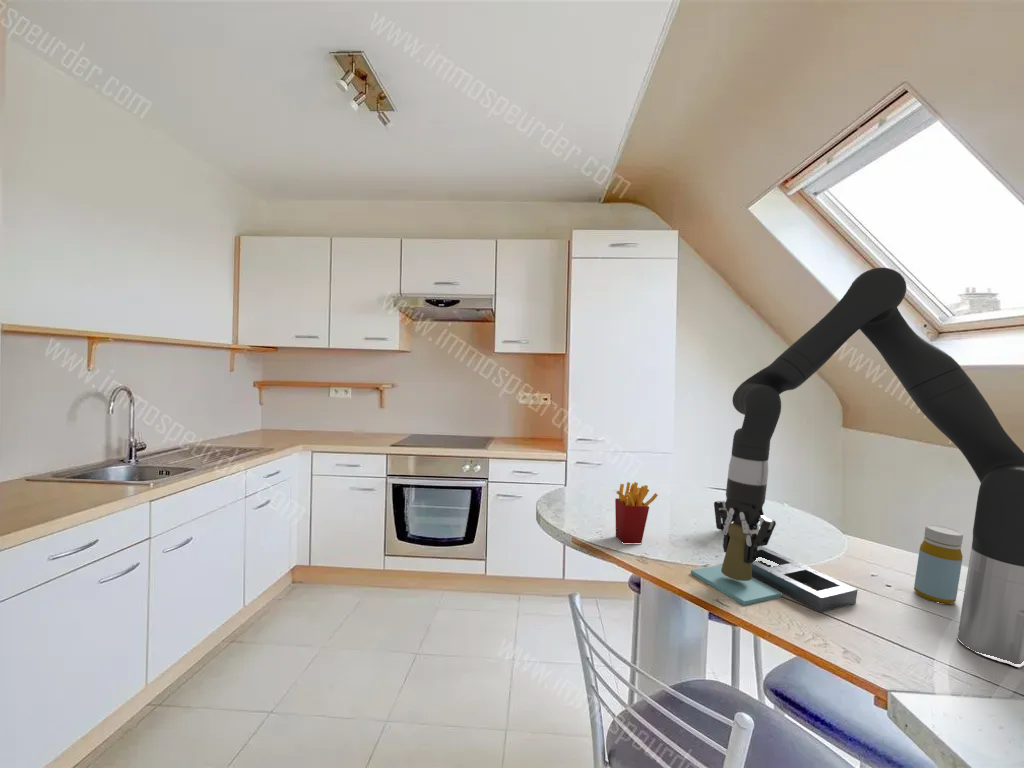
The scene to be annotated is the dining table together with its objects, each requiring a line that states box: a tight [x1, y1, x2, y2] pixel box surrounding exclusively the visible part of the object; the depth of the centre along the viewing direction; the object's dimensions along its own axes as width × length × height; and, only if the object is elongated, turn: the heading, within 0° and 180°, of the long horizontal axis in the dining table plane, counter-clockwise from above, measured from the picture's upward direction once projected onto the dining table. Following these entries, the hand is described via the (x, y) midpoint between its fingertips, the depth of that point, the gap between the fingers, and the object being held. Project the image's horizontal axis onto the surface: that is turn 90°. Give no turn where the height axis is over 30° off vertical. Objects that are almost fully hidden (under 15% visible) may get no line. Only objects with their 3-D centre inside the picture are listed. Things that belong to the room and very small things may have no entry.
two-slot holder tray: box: [752, 546, 858, 614], centre depth 111 cm, size 23×12×3 cm, turn 26°
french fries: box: [614, 481, 659, 544], centre depth 129 cm, size 9×8×15 cm
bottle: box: [913, 524, 964, 605], centre depth 109 cm, size 7×7×15 cm
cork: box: [721, 523, 754, 581], centre depth 107 cm, size 6×6×11 cm
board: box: [690, 564, 783, 606], centre depth 108 cm, size 14×11×1 cm
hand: (738, 556), depth 107 cm, fingers closed on cork, 4 cm apart
